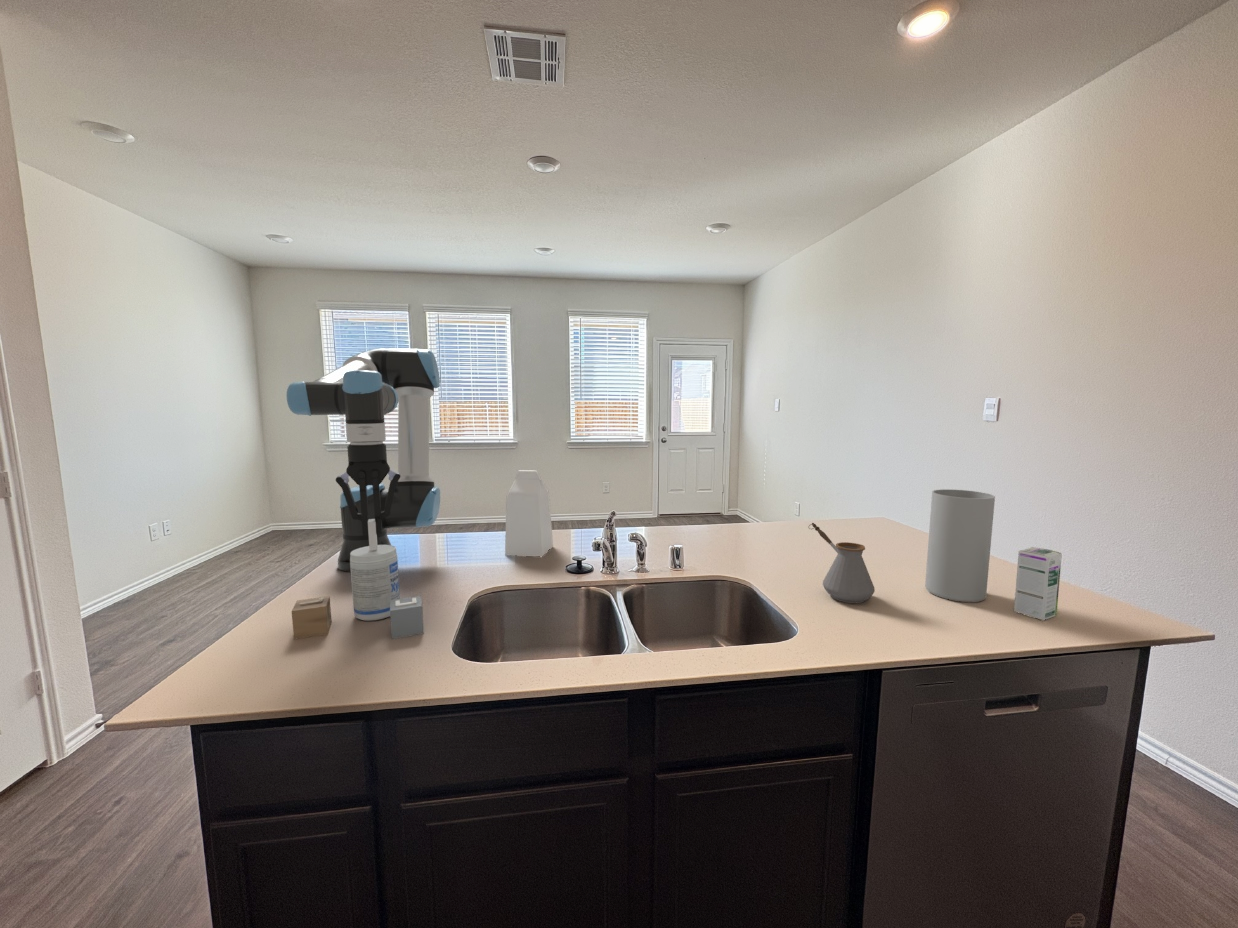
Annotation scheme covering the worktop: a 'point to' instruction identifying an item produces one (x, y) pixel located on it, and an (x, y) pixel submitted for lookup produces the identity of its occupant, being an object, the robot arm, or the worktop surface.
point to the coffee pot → (847, 572)
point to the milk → (528, 516)
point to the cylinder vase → (959, 544)
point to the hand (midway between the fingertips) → (373, 548)
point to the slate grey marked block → (406, 617)
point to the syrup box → (1037, 582)
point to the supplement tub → (374, 581)
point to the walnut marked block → (311, 617)
